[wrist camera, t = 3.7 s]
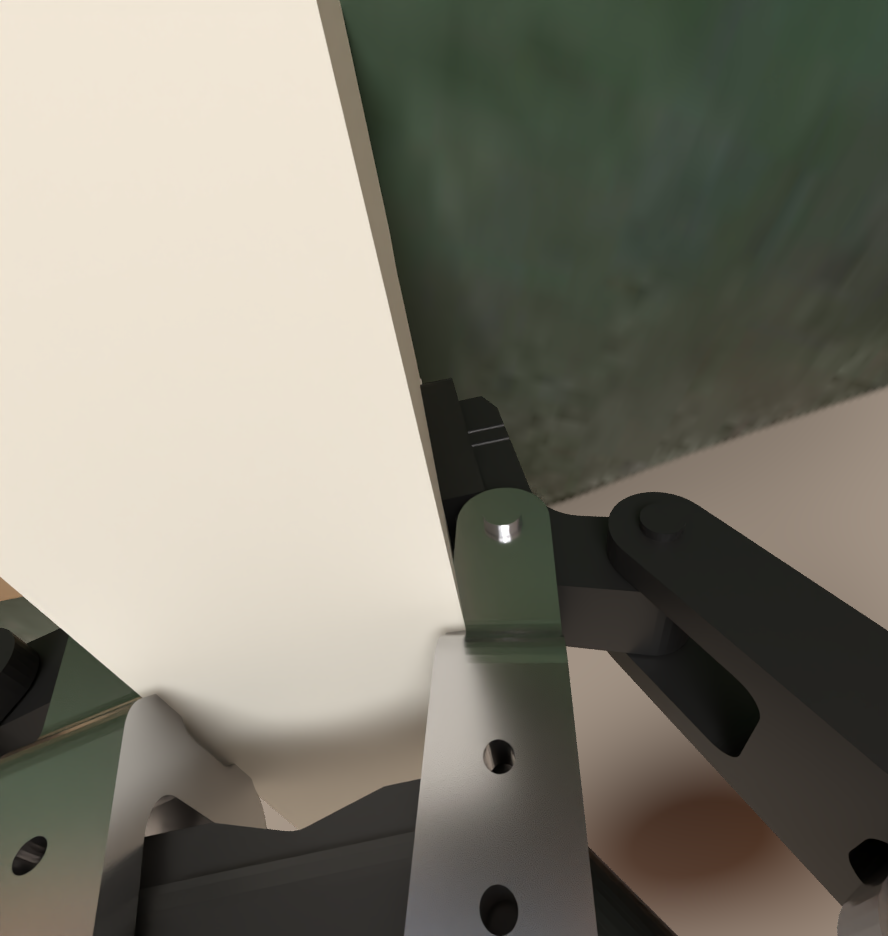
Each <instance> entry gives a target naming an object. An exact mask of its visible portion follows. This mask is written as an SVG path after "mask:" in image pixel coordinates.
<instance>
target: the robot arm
mask: <svg viewBox="0 0 888 936" xmlns="http://www.w3.org/2000/svg"><path fill="white" fill-rule="evenodd" d="M420 389H421V394H422V400H423V405H424V410H425V416H426V421H427V426H428V431H429V437H430V442H431V447H432V452H433V458H434V463H435V468H436V474H437V479H438V484H439V489H440V495H441V500H442V504H443V509H444V513H445V518H446V522H447V527H448V531H449V535H450V540H451V544H452V549H453V553H454V560H453V564H454V570H455V575H456V580H457V586H458V591H459V596H460V602H461V607H462V612H463V617H464V623H465V628H466V630H462V631H456V632H448V633H446V634H445V635H441V636H440V637H439V638H438V641H437V644H436V648H435V653H434V661H433V670H432V679H431V688H430V698H429V707H428V716H427V726H426V735H425V745H424V754H423V763H422V773H421V779H416V780H412V781H407V782H402V783H398V784H393V785H388V786H384V787H382V788H380V789H378V790H376V791H374V792H372V793H370V794H368V795H366V796H365V797H363V798H361V799H359V800H357V801H355V802H353V803H351V804H349V805H347V806H345V807H343V808H342V809H340V810H338V811H336V812H334V813H332V814H330V815H328V816H326V817H324V818H322V819H320V820H319V821H317V822H315V823H313V824H311V825H309V826H307V827H305V828H303V829H300V830H297V831H279V830H271V829H267V827H266V821H265V815H264V811H263V807H262V804H261V801H260V798H259V796H258V794H257V792H256V790H255V787H254V785H253V781H252V779H251V778H250V777H249V776H248V775H247V774H246V773H245V772H244V771H242V770H241V769H240V768H239V767H238V766H237V765H236V764H235V763H234V764H231V765H227V766H224V765H223V764H222V763H220V762H219V761H218V760H217V759H216V758H215V757H213V756H212V755H211V754H210V753H209V752H208V751H206V750H205V749H204V748H203V747H202V746H201V745H199V744H198V743H197V742H196V741H195V740H194V739H192V738H191V736H190V735H189V734H188V732H187V730H186V728H185V725H184V723H183V719H182V717H181V716H180V715H179V714H178V713H177V712H176V711H175V710H174V709H172V708H171V707H170V706H169V705H168V704H167V703H166V702H165V701H163V700H162V699H161V698H160V697H159V696H158V695H157V694H153V695H150V696H147V697H143V698H142V697H141V696H140V695H139V694H138V693H137V692H135V691H134V690H133V689H132V688H131V687H129V686H128V685H127V684H126V683H125V682H124V681H122V680H121V679H120V678H119V677H118V676H117V675H115V674H114V673H113V672H112V671H111V670H109V669H108V668H107V667H106V666H105V665H104V664H102V663H101V662H100V661H99V660H98V659H97V658H95V657H94V656H93V655H92V654H91V653H89V652H88V651H87V650H86V649H85V648H84V647H82V646H81V645H80V644H79V643H78V642H76V641H75V640H74V639H73V638H72V637H71V636H69V635H68V634H67V633H66V632H65V631H64V630H62V629H61V628H60V629H58V630H56V631H53V632H51V633H49V634H47V635H45V636H42V637H40V638H38V639H36V640H34V641H31V642H29V643H27V644H26V643H25V642H23V641H22V640H21V639H19V638H18V637H17V636H16V635H14V634H13V633H12V632H10V631H9V630H7V629H4V628H0V936H677V935H676V934H675V933H674V932H673V931H672V930H671V929H670V928H669V927H668V926H667V925H666V924H665V923H664V922H663V921H662V920H661V919H660V918H659V917H658V916H657V915H656V914H655V913H654V912H653V911H652V910H651V909H650V908H649V907H648V906H647V905H646V904H645V903H644V902H643V901H642V900H641V899H640V898H639V897H638V896H637V895H636V894H635V893H634V892H633V891H632V890H631V889H630V888H629V887H628V886H627V885H626V884H625V883H624V882H623V881H622V880H621V879H620V878H619V877H618V876H617V875H616V874H615V873H614V872H613V871H612V870H611V869H610V868H609V867H608V866H607V865H606V864H605V863H604V862H603V861H602V860H601V859H600V858H599V857H598V856H597V855H596V854H595V853H594V852H593V851H592V850H591V849H590V848H589V847H588V842H587V833H586V824H585V815H584V806H583V797H582V788H581V779H580V770H579V760H578V751H577V742H576V732H575V723H574V714H573V705H572V697H571V687H570V678H569V668H568V660H567V652H566V646H569V647H578V648H587V649H596V650H606V651H608V653H609V654H610V655H611V657H612V658H613V659H614V660H615V661H616V662H617V663H618V664H619V665H620V666H621V667H622V669H623V670H624V671H625V672H626V673H627V674H628V675H629V676H630V677H631V678H632V679H633V680H634V682H636V684H637V685H638V686H639V687H640V688H641V689H642V690H643V691H644V692H645V693H646V695H648V697H649V698H650V699H651V700H652V701H653V702H654V703H655V704H656V705H657V706H658V708H660V710H661V711H662V712H663V713H664V714H665V715H666V716H667V717H668V718H669V719H670V721H671V722H672V723H673V724H674V725H675V726H676V727H677V728H678V729H679V730H680V731H681V732H682V733H683V735H684V736H685V737H686V738H687V739H688V740H689V741H690V742H691V743H692V744H693V745H694V746H695V748H697V750H698V751H699V752H700V753H701V754H702V755H703V756H704V757H705V758H706V759H707V761H708V762H709V763H710V764H711V765H712V766H713V767H714V768H715V769H716V770H717V771H718V772H719V773H720V775H721V776H722V777H723V778H724V779H725V780H726V781H727V782H728V783H729V784H730V785H731V787H732V788H733V789H734V790H735V791H736V792H737V793H738V794H739V795H740V796H741V797H742V798H743V799H744V801H745V802H746V803H747V804H748V805H749V806H750V807H751V808H752V809H753V810H754V811H755V812H756V813H757V815H758V816H759V817H760V818H761V819H762V820H763V821H764V822H765V823H766V824H767V825H768V827H770V829H771V830H772V831H773V832H774V833H775V834H776V835H777V836H778V837H779V838H780V840H781V841H782V842H783V843H784V844H785V845H786V846H787V847H788V848H789V849H790V850H791V851H792V852H793V854H794V855H795V856H796V857H797V858H798V859H799V860H800V861H801V862H802V863H803V864H804V866H805V867H806V868H807V869H808V870H809V871H810V872H811V873H812V874H813V875H814V876H815V877H816V878H817V880H818V881H819V882H820V883H821V884H822V885H823V886H824V887H825V888H826V889H827V890H828V891H829V893H830V894H831V895H832V896H833V897H834V898H835V899H836V900H837V901H838V902H839V903H840V904H841V905H842V909H841V911H840V914H839V919H838V926H837V933H838V936H888V631H887V630H886V629H884V628H883V627H881V626H880V625H878V624H877V623H875V622H874V621H872V620H871V619H869V618H868V617H866V616H865V615H863V614H861V613H860V612H858V611H857V610H856V609H854V608H853V607H851V606H849V605H848V604H846V603H845V602H843V601H842V600H840V599H839V598H837V597H836V596H834V595H833V594H831V593H830V592H828V591H827V590H825V589H824V588H822V587H821V586H819V585H818V584H816V583H815V582H813V581H812V580H810V579H809V578H807V577H806V576H804V575H803V574H801V573H800V572H798V571H797V570H795V569H793V568H792V567H791V566H789V565H787V564H786V563H784V562H783V561H781V560H780V559H778V558H777V557H775V556H774V555H772V554H771V553H769V552H768V551H766V550H765V549H763V548H762V547H760V546H759V545H757V544H756V543H754V542H753V541H751V540H750V539H748V538H747V537H745V536H744V535H742V534H741V533H739V532H738V531H736V530H734V529H733V528H732V527H730V526H728V525H727V524H726V523H724V522H722V521H721V520H719V519H718V518H716V517H715V516H713V515H712V514H710V513H709V512H707V511H706V510H704V509H703V508H701V507H700V506H698V505H697V504H695V503H693V502H691V501H690V500H687V499H685V498H683V497H680V496H677V495H673V494H668V493H661V492H646V493H640V494H636V495H632V496H630V497H627V498H626V499H623V500H622V501H620V502H619V503H618V504H617V505H616V506H615V507H614V508H613V510H612V512H611V513H610V516H609V517H593V516H576V515H569V514H564V513H561V512H558V511H555V510H553V509H551V508H548V507H547V506H546V505H545V504H544V503H543V502H542V501H541V500H540V499H539V498H538V497H537V496H535V495H533V494H532V492H531V490H530V488H529V485H528V483H527V480H526V478H525V476H524V473H523V471H522V468H521V466H520V463H519V461H518V458H517V456H516V453H515V451H514V448H513V446H512V443H511V441H510V440H509V436H508V434H507V431H506V429H505V427H504V424H503V421H502V419H501V416H500V414H499V411H498V409H497V407H495V406H494V405H493V404H491V403H490V402H489V401H487V400H486V399H485V398H483V397H482V396H481V397H476V398H471V399H466V400H462V401H458V397H457V394H456V391H455V387H454V384H453V381H452V378H449V379H445V380H440V381H435V382H430V383H425V384H421V385H420Z"/></svg>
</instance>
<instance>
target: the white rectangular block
mask: <svg viewBox="0 0 888 936" xmlns="http://www.w3.org/2000/svg"><path fill="white" fill-rule="evenodd" d="M421 384H422V380H421V379H420V376H419V372H418V367H417V362H416V358H415V353H414V349H413V344H412V339H411V335H410V330H409V325H408V321H407V316H406V312H405V307H404V302H403V298H402V293H401V289H400V284H399V279H398V275H397V270H396V265H395V259H394V254H393V248H392V243H391V237H390V232H389V227H388V222H387V218H386V213H385V208H384V204H383V199H382V194H381V190H380V185H379V181H378V176H377V171H376V167H375V162H374V157H373V153H372V148H371V143H370V139H369V134H368V129H367V125H366V120H365V116H364V111H363V106H362V102H361V97H360V92H359V88H358V83H357V78H356V74H355V69H354V64H353V60H352V55H351V51H350V46H349V41H348V37H347V32H346V27H345V23H344V18H343V13H342V9H341V5H340V2H339V0H0V577H1V578H2V579H3V580H5V581H6V582H7V583H8V584H9V585H11V586H12V587H13V588H14V589H15V590H16V591H18V592H19V593H20V594H21V595H22V596H24V597H25V598H26V599H27V600H28V601H29V602H31V603H32V604H33V605H34V606H35V607H36V608H38V609H39V610H40V611H41V612H42V613H44V614H45V615H46V616H47V617H48V618H49V619H51V620H52V621H53V622H54V623H55V624H56V625H58V626H59V627H60V628H61V629H62V630H64V631H65V632H66V633H67V634H68V635H69V636H71V637H72V638H73V639H74V640H75V641H76V642H78V643H79V644H80V645H81V646H82V647H84V648H85V649H86V650H87V651H88V652H89V653H91V654H92V655H93V656H94V657H95V658H97V659H98V660H99V661H100V662H101V663H102V664H104V665H105V666H106V667H107V668H108V669H109V670H111V671H112V672H113V673H114V674H115V675H117V676H118V677H119V678H120V679H121V680H122V681H124V682H125V683H126V684H127V685H128V686H129V687H131V688H132V689H133V690H134V691H135V692H137V693H138V694H139V695H140V696H141V697H142V698H143V697H147V696H150V695H153V694H157V695H158V696H159V697H160V698H161V699H162V700H163V701H165V702H166V703H167V704H168V705H169V706H170V707H171V708H172V709H174V710H175V711H176V712H177V713H178V714H179V715H180V716H181V717H182V719H183V723H184V725H185V728H186V730H187V732H188V734H189V735H190V736H191V738H192V739H194V740H195V741H196V742H197V743H198V744H199V745H201V746H202V747H203V748H204V749H205V750H206V751H208V752H209V753H210V754H211V755H212V756H213V757H215V758H216V759H217V760H218V761H219V762H220V763H222V764H223V765H224V766H227V765H231V764H234V763H235V764H236V765H237V766H238V767H239V768H240V769H241V770H242V771H244V772H245V773H246V774H247V775H248V776H249V777H250V778H251V779H252V781H253V785H254V787H255V790H256V792H257V794H258V796H259V797H260V798H261V799H263V800H264V801H265V802H266V803H267V804H269V805H270V806H271V807H272V808H273V809H274V810H275V811H277V812H278V813H279V814H280V815H281V816H283V817H284V818H285V819H286V820H287V821H288V822H290V823H291V824H292V825H293V826H294V827H296V828H297V829H298V830H300V829H303V828H305V827H307V826H309V825H311V824H313V823H315V822H317V821H319V820H320V819H322V818H324V817H326V816H328V815H330V814H332V813H334V812H336V811H338V810H340V809H342V808H343V807H345V806H347V805H349V804H351V803H353V802H355V801H357V800H359V799H361V798H363V797H365V796H366V795H368V794H370V793H372V792H374V791H376V790H378V789H380V788H382V787H384V786H388V785H393V784H398V783H402V782H407V781H412V780H416V779H421V773H422V763H423V754H424V745H425V735H426V726H427V716H428V707H429V698H430V688H431V679H432V670H433V661H434V653H435V648H436V644H437V641H438V638H439V637H440V636H441V635H445V634H446V633H448V632H456V631H462V630H466V628H465V623H464V617H463V612H462V607H461V602H460V596H459V591H458V586H457V580H456V575H455V570H454V564H453V560H454V553H453V549H452V544H451V540H450V535H449V531H448V527H447V522H446V518H445V513H444V509H443V504H442V500H441V495H440V489H439V484H438V479H437V474H436V468H435V463H434V458H433V452H432V447H431V442H430V437H429V431H428V426H427V421H426V416H425V410H424V405H423V400H422V394H421V389H420V385H421Z"/></svg>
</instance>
